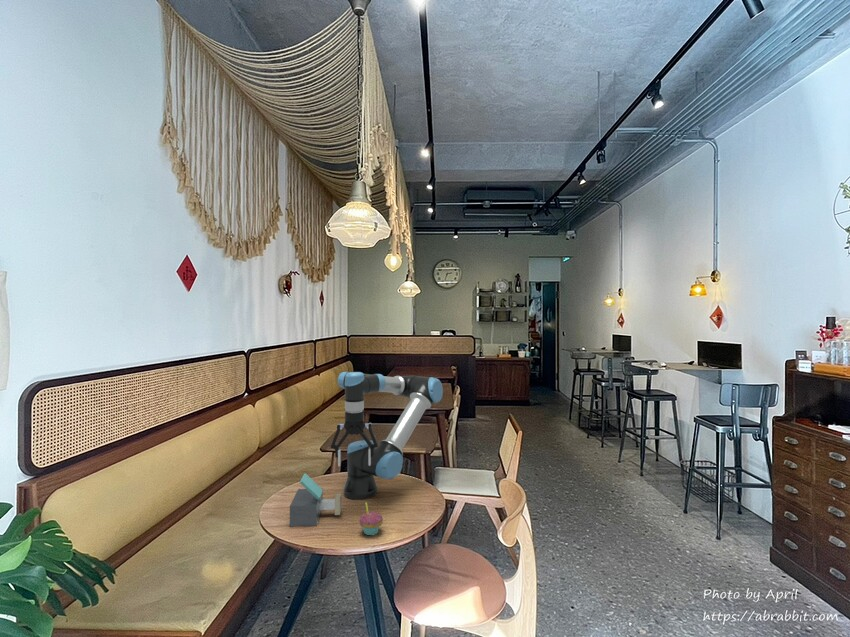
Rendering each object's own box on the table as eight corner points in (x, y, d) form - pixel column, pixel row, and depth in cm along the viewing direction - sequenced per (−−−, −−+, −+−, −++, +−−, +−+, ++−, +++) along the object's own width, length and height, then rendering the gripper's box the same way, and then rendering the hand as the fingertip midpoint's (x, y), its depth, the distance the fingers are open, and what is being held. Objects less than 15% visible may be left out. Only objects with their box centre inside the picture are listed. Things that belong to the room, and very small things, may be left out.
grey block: (322, 507, 179) (322, 488, 179) (316, 525, 163) (316, 505, 163) (298, 508, 178) (298, 488, 178) (289, 527, 163) (289, 506, 162)
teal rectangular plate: (321, 491, 175) (322, 489, 175) (318, 500, 167) (319, 498, 167) (303, 474, 175) (305, 473, 175) (299, 482, 167) (301, 480, 167)
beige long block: (341, 508, 175) (341, 493, 175) (339, 514, 169) (339, 499, 169) (305, 509, 174) (305, 494, 174) (302, 516, 168) (302, 501, 168)
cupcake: (361, 540, 153) (361, 506, 153) (358, 528, 161) (357, 497, 161) (384, 536, 156) (384, 504, 155) (380, 525, 164) (380, 494, 164)
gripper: (384, 408, 177) (384, 460, 177) (325, 409, 175) (326, 462, 175) (383, 412, 170) (384, 467, 170) (323, 413, 168) (323, 469, 168)
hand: (354, 464), depth 173 cm, fingers open, 11 cm apart
